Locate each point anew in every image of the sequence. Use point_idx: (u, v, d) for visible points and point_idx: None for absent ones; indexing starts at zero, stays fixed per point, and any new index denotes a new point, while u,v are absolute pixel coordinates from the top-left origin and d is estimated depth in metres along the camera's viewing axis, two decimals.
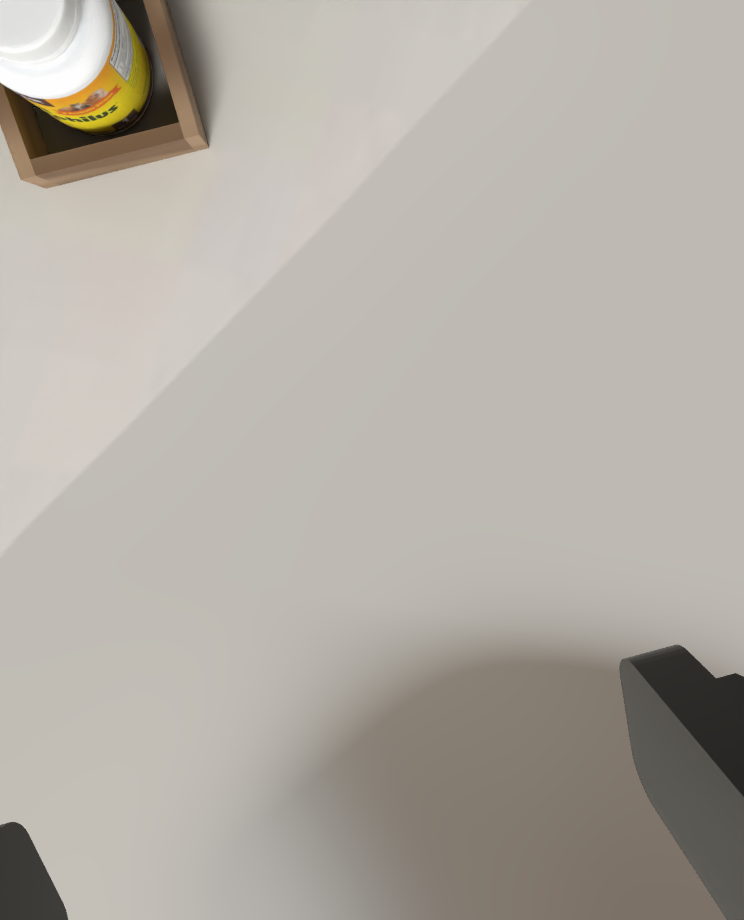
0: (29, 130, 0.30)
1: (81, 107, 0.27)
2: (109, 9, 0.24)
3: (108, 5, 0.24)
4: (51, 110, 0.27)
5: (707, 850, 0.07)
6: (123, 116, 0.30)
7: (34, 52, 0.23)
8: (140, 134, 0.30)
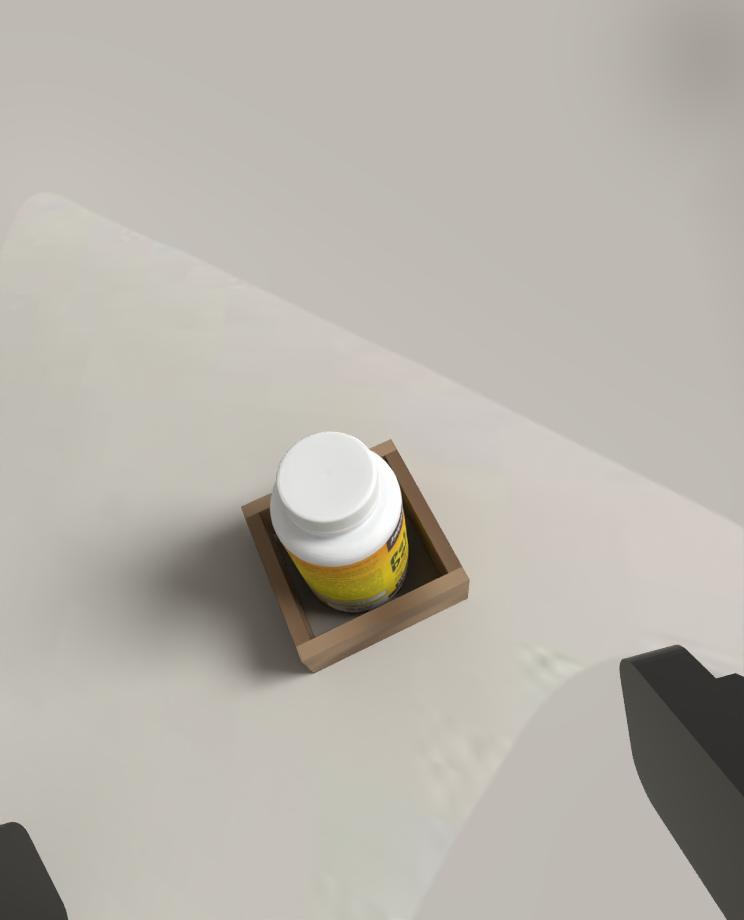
0: None
1: None
2: None
3: None
4: (404, 521, 0.29)
5: (707, 851, 0.07)
6: None
7: (370, 454, 0.25)
8: (402, 483, 0.32)
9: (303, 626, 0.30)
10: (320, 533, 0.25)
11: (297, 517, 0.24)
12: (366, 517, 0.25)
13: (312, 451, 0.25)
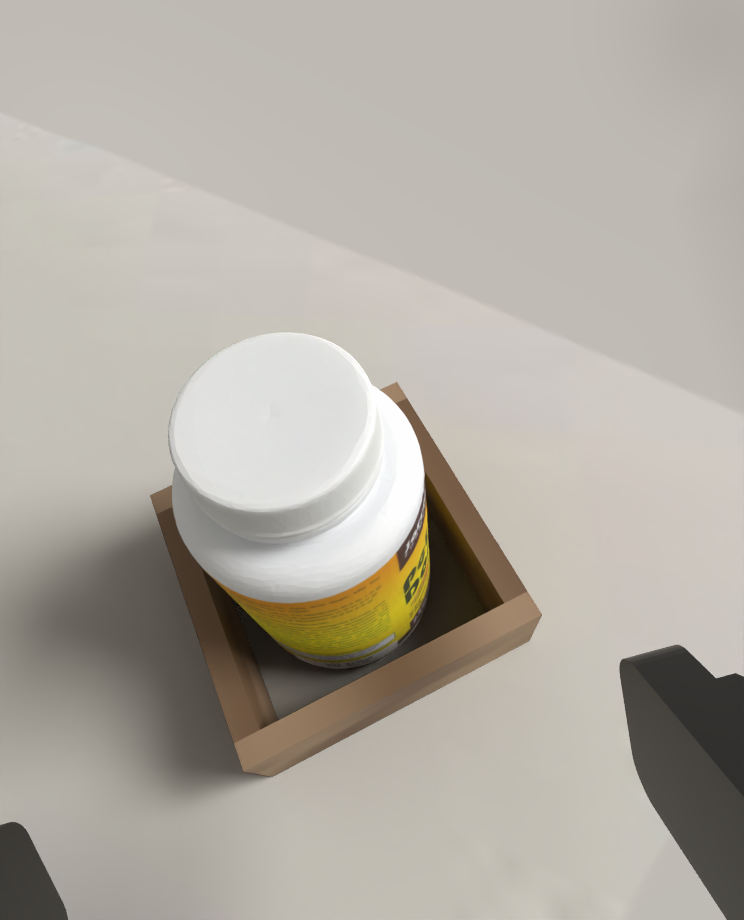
0: None
1: None
2: None
3: None
4: None
5: (707, 851, 0.07)
6: None
7: (363, 374, 0.13)
8: None
9: (248, 704, 0.17)
10: (261, 536, 0.12)
11: (209, 503, 0.11)
12: (356, 502, 0.12)
13: (245, 369, 0.12)
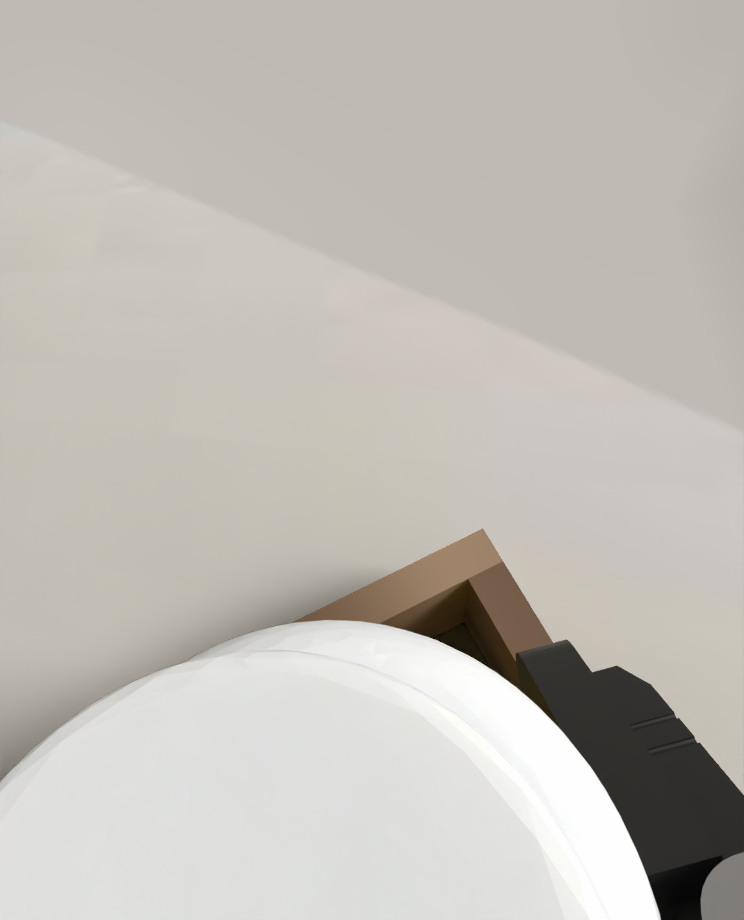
0: None
1: None
2: None
3: None
4: None
5: None
6: None
7: (555, 826, 0.04)
8: None
9: None
10: None
11: None
12: None
13: (146, 815, 0.04)
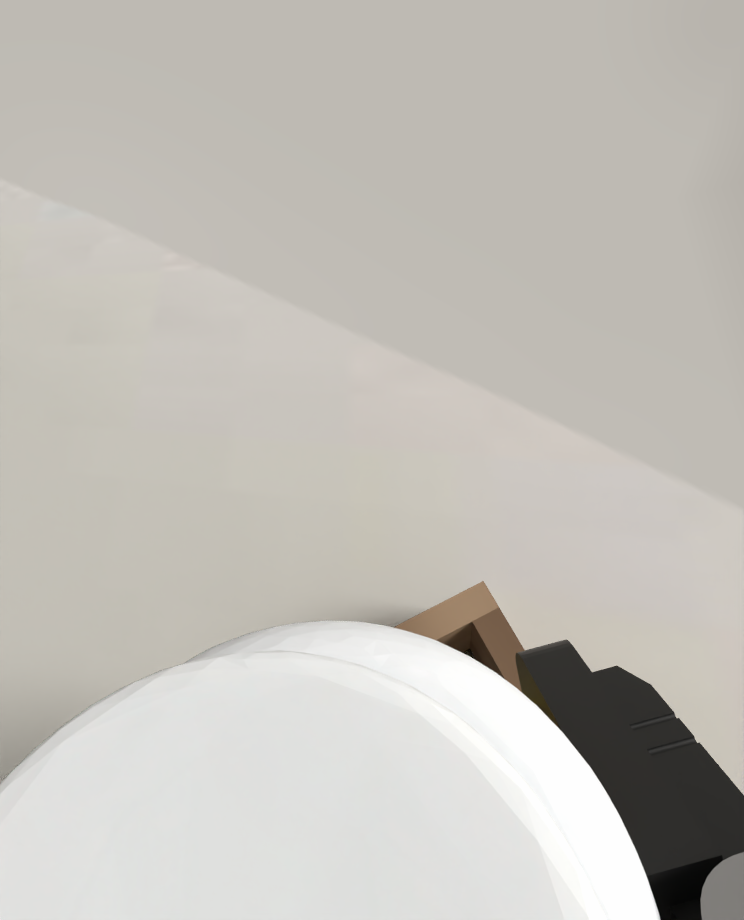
0: None
1: None
2: None
3: None
4: None
5: None
6: None
7: (554, 827, 0.04)
8: None
9: None
10: None
11: None
12: None
13: (148, 815, 0.04)
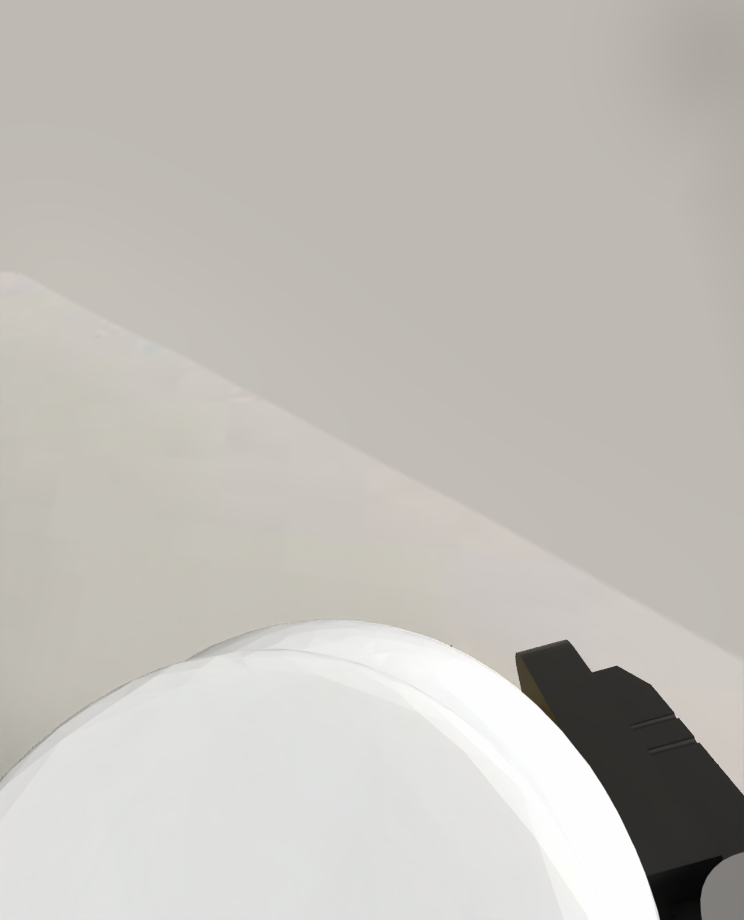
0: None
1: None
2: None
3: None
4: None
5: None
6: None
7: (554, 825, 0.04)
8: None
9: None
10: None
11: None
12: None
13: (146, 813, 0.04)
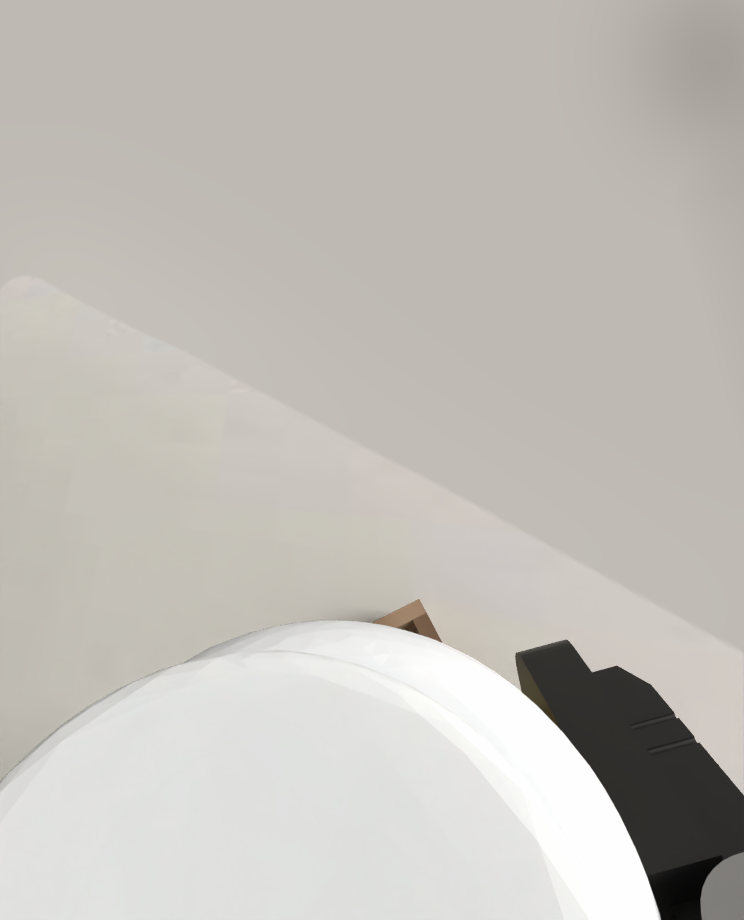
0: None
1: None
2: None
3: None
4: None
5: None
6: None
7: (557, 826, 0.04)
8: None
9: None
10: None
11: None
12: None
13: (145, 815, 0.04)
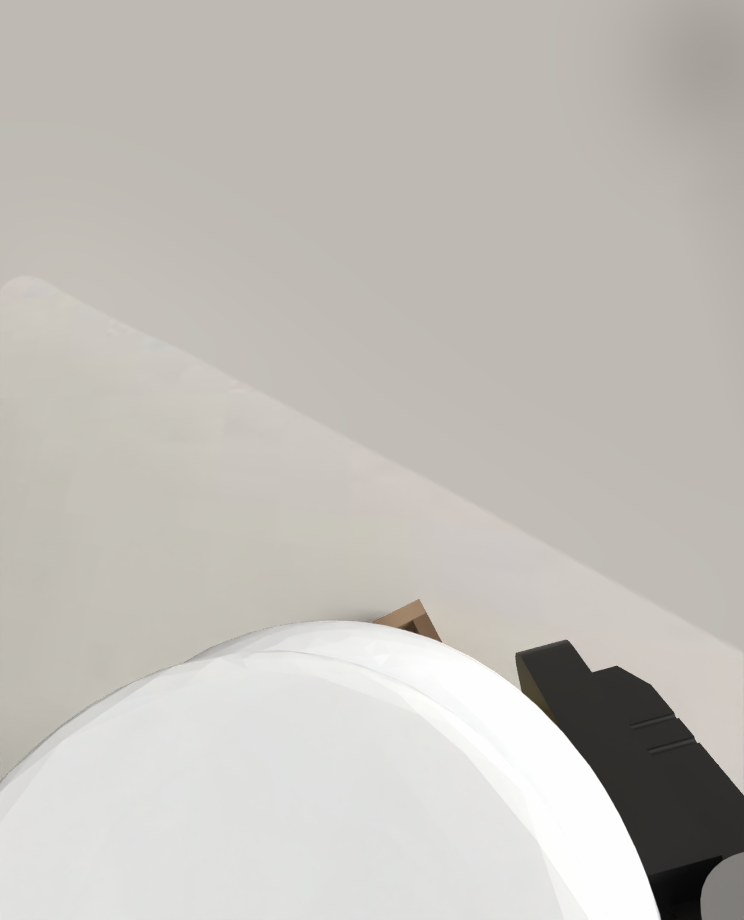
0: None
1: None
2: None
3: None
4: None
5: None
6: None
7: (557, 826, 0.04)
8: None
9: None
10: None
11: None
12: None
13: (145, 815, 0.04)
